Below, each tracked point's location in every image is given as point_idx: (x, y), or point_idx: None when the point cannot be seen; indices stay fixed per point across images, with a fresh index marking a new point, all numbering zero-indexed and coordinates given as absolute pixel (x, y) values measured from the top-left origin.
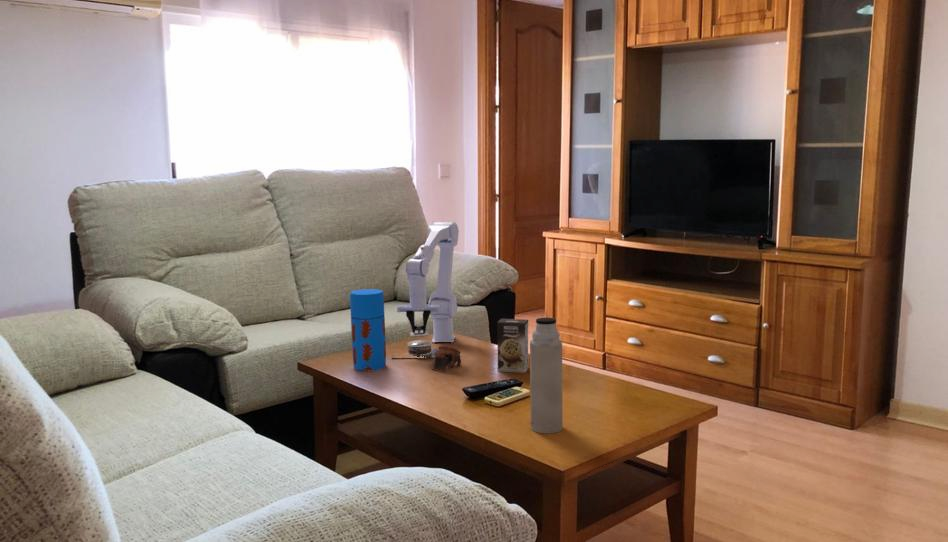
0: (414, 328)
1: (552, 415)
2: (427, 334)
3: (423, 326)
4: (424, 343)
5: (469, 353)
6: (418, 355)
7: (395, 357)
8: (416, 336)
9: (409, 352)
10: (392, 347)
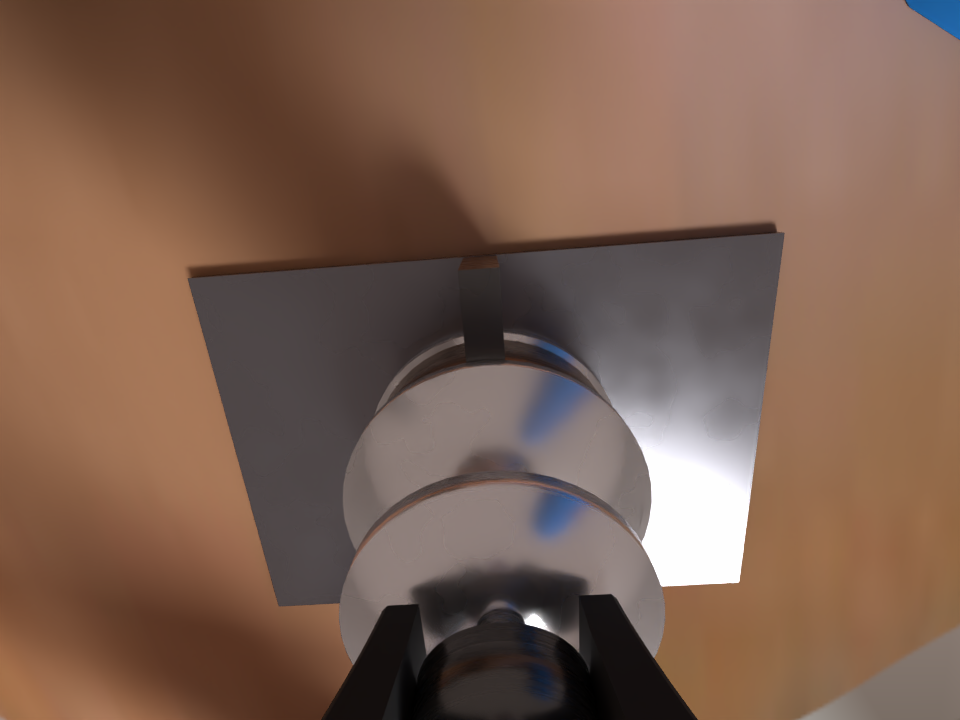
0: (599, 691)
1: None
2: (347, 576)
3: (375, 718)
4: None
5: (16, 462)
6: (473, 260)
7: (740, 260)
8: (524, 475)
9: (596, 390)
10: (770, 635)
